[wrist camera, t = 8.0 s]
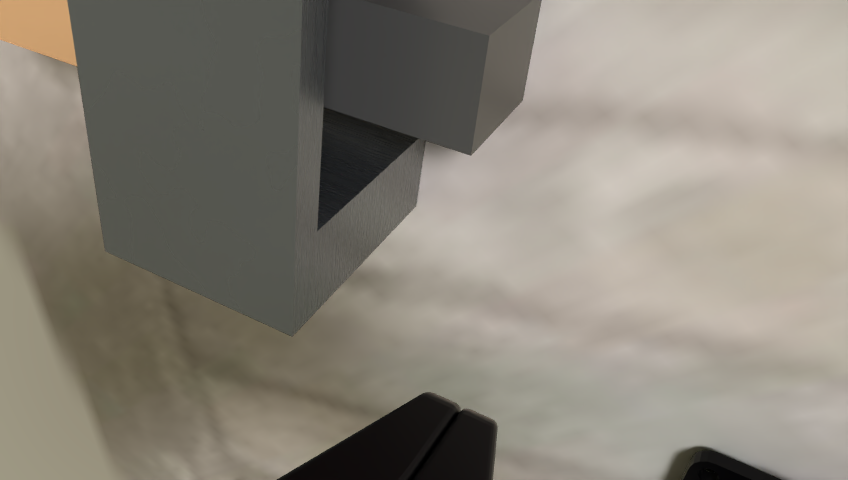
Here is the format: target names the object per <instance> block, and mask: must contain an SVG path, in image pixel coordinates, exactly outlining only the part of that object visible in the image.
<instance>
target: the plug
mask: <svg viewBox="0 0 848 480" xmlns="http://www.w3.org/2000/svg"><path fill="white" fill-rule="evenodd" d="M541 1H542V0H329V10H328V29H327V49H326V69H325V88H324V107H325V108H328V109H331V110H334V111H337V112H340V113H343V114H346V115H349V116H352V117H355V118H358V119H361V120H364V121H367V122H370V123H373V124H376V125H379V126H382V127H386V128H389V129H392V130H395V131H398V132H401V133H404V134H407V135H410V136H413V137H416V138H419V139H422V140H425V141H428V142H431V143H434V144H437V145H440V146H443V147H446V148H449V149H452V150H455V151H458V152H462V153H465V154H468V155H472V154H473V153H474V152H475V151H476V150H477V149H478V148H479V147H480V145H481V144H482V143H483V142H484V141H485V140H486V139H487V138H488V137H489V136H490V135H491V134H492V133H493V132H494V130H495V129H496V128H497V127H498V126H499V125H500V124H501V123H502V122H503V121H504V120H505V119H506V118H507V117H508V116H509V114H510V113H511V112H512V111H513V110H514V109H515V108H516V107H517V106H518V105H519V104H520V103H521V102H522V101H523V96H524V90H525V85H526V80H527V75H528V69H529V64H530V59H531V53H532V48H533V43H534V38H535V32H536V27H537V22H538V16H539V11H540V6H541ZM0 40H3V41H6V42H9V43H11V44H14V45H17V46H20V47H23V48H26V49H29V50H31V51H34V52H37V53H40V54H43V55H46V56H49V57H52V58H54V59H57V60H60V61H63V62H66V63H69V64H72V65H74V66H77V62H76V55H75V49H74V42H73V35H72V29H71V22H70V15H69V9H68V2H67V0H0Z"/></svg>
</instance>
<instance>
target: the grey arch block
mask: <svg viewBox="0 0 848 480" xmlns="http://www.w3.org/2000/svg"><path fill="white" fill-rule="evenodd" d="M67 2H68V9H69V15H70V22H71V29H72V35H73V42H74V49H75V55H76V62H77V68H78V75H79V82H80V88H81V95H82V102H83V108H84V115H85V121H86V128H87V135H88V141H89V148H90V154H91V161H92V168H93V174H94V181H95V188H96V194H97V201H98V207H99V214H100V221H101V227H102V234H103V240H104V247H105V251H106V252H108V253H110V254H113V255H115V256H117V257H119V258H121V259H124V260H126V261H128V262H130V263H132V264H134V265H137V266H139V267H141V268H143V269H145V270H148V271H150V272H152V273H154V274H156V275H159V276H161V277H163V278H165V279H167V280H169V281H172V282H174V283H176V284H178V285H180V286H183V287H185V288H187V289H189V290H191V291H193V292H196V293H198V294H200V295H202V296H204V297H207V298H209V299H211V300H213V301H215V302H218V303H220V304H222V305H224V306H226V307H228V308H231V309H233V310H235V311H237V312H239V313H242V314H244V315H246V316H248V317H250V318H253V319H255V320H257V321H259V322H261V323H263V324H266V325H268V326H270V327H272V328H274V329H277V330H279V331H281V332H283V333H285V334H288V335H290V336H293V335H294V334H295V333H296V332H297V331H298V330H299V329H300V328H301V327H302V326H303V325H304V324H305V323H306V322H307V321H308V319H309V318H310V317H311V316H312V315H313V314H314V313H315V312H316V311H317V310H318V309H319V308H320V307H321V306H322V305H323V304H324V303H325V302H326V300H327V299H328V298H329V297H330V296H331V295H332V294H333V293H334V292H335V291H336V290H337V289H338V288H339V287H340V286H341V285H342V284H343V283H344V282H345V280H346V279H347V278H348V277H349V276H350V275H351V274H352V273H353V272H354V271H355V270H356V269H357V268H358V267H359V266H360V265H361V264H362V263H363V262H364V260H365V259H366V258H367V257H368V256H369V255H370V254H371V253H372V252H373V251H374V250H375V249H376V248H377V247H378V246H379V245H380V244H381V243H382V241H383V240H384V239H385V238H386V237H387V236H388V235H389V234H390V233H391V232H392V231H393V230H394V229H395V228H396V227H397V226H398V225H399V224H400V223H401V221H402V220H403V219H404V218H405V217H406V216H407V215H408V214H409V213H410V212H411V211H412V210H413V209H414V208H415V207H416V203H417V196H418V189H419V182H420V175H421V168H422V160H423V153H424V146H425V140H422V139H419V138H416V137H413V136H410V135H407V134H404V133H401V132H398V131H395V130H392V129H389V128H386V127H382V126H379V125H376V124H373V123H370V122H367V121H364V120H361V119H358V118H355V117H352V116H349V115H346V114H343V113H340V112H337V111H334V110H331V109H328V108H325V107H324V88H325V69H326V49H327V29H328V10H329V0H67Z"/></svg>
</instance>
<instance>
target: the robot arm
mask: <svg viewBox="0 0 848 480" xmlns="http://www.w3.org/2000/svg"><path fill="white" fill-rule="evenodd" d="M496 440H497V423H496V422H495V421H494V420H493V419H490V418H488V417H486V416H484V415H481V414H479V413H477V412H475V411H473V410H470V409H463V410H462V411H461V408H460V406H459V405H458V404H457V403H455V402H452V401H450V400H448V399H446V398H444V397H441V396H439V395H437V394H435V393H431V392H427V393H423V394H421V395H419V396H418V397H416V398H414V399H413V400H411V401H409V402H407V403H406V404H404V405H402V406H401V407H399V408H397V409H396V410H394V411H392V412H391V413H389V414H387V415H385V416H384V417H382V418H380V419H379V420H377V421H375V422H374V423H372V424H370V425H369V426H367V427H365V428H363V429H362V430H360V431H358V432H357V433H355V434H353V435H352V436H350V437H348V438H347V439H345V440H343V441H341V442H340V443H338V444H336V445H335V446H333V447H331V448H330V449H328V450H326V451H324V452H323V453H321V454H319V455H318V456H316V457H314V458H313V459H311V460H309V461H308V462H306V463H304V464H302V465H301V466H299V467H297V468H296V469H294V470H292V471H291V472H289V473H287V474H286V475H284V476H282V477H280V478H279V479H277V480H493V472H494V461H495V450H496ZM706 468H707V469H711V470H713V471H715V472H709V471H707V470H705V469H706ZM681 480H780V479H778V478H775V477H773V476H771V475H768V474H766V473H764V472H761V471H759V470H757V469H754V468H752V467H750V466H747V465H745V464H743V463H740V462H738V461H736V460H733V459H731V458H729V457H727V456H724V455H722V454H720V453H717V452H713V451H703V450H702V451H699V452H697V453H695V454H694V455H693V456H692V458H691V460H690V462H689V464H688V466H687V468H686V470H685V472H684V474H683V476H682V478H681Z"/></svg>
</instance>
